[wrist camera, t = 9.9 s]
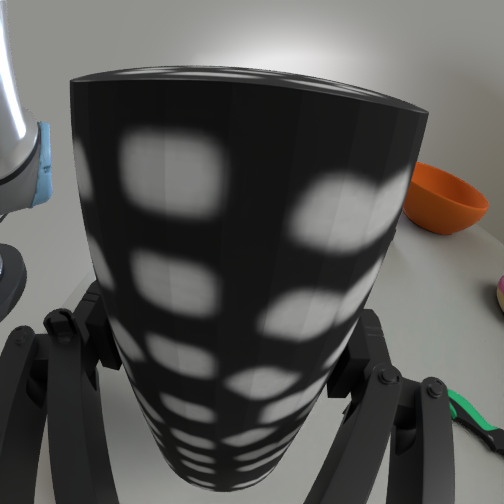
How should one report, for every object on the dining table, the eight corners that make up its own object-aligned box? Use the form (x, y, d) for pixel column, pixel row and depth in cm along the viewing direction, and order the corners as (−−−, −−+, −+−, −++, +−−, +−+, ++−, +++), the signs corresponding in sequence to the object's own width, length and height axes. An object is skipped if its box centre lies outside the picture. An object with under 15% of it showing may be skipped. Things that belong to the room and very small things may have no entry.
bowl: (472, 222, 69) (484, 189, 63) (474, 264, 52) (494, 222, 46) (393, 187, 80) (402, 154, 74) (369, 215, 62) (382, 172, 57)
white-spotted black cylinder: (139, 465, 15) (-8, 99, 4) (184, 371, 22) (175, 64, 11) (268, 505, 14) (505, 155, 3) (294, 400, 21) (392, 95, 9)
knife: (550, 455, 16) (540, 486, 14) (546, 458, 17) (536, 488, 14) (438, 362, 31) (420, 386, 28) (435, 366, 31) (417, 390, 28)
